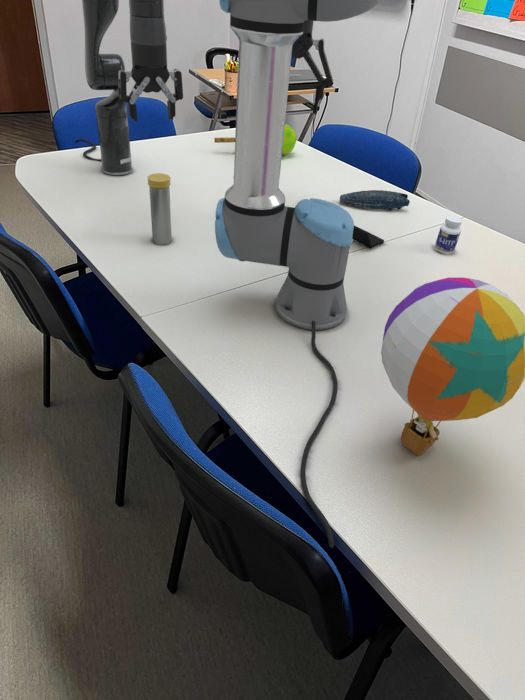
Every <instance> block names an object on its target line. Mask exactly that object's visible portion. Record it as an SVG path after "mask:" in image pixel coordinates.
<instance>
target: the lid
mask: <svg viewBox="0 0 525 700" xmlns="http://www.w3.org/2000/svg"><path fill="white" fill-rule="evenodd" d="M147 185H148V187H149V186H150V187H153V188H166V187H169V186H171V176H170V175H169V174H166V173H159V172H158V173H152V174H151V173H150V174H149V175H148V176H147Z"/></svg>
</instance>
